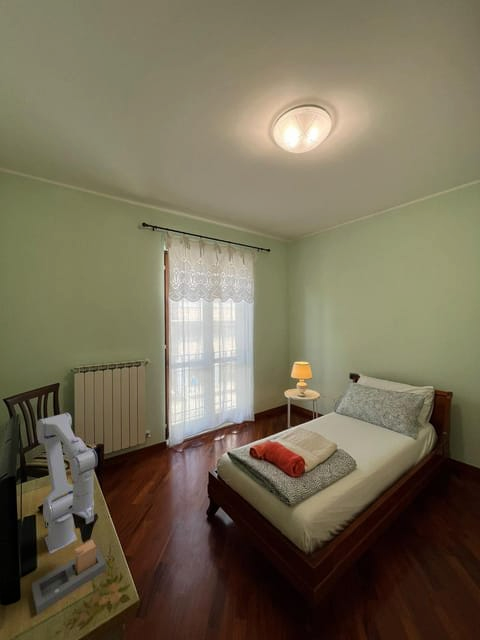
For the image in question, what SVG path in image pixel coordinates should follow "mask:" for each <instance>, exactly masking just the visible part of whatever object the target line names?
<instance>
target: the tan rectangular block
mask: <svg viewBox="0 0 480 640" xmlns="http://www.w3.org/2000/svg"><path fill="white" fill-rule="evenodd" d="M74 559H75V574H76V576H77V575H79V574H81V573H82V572H84V571H86V570H87V569H89V568H90V567H92V566H94V565H95V564H96V544H95V542H94V540H93V539H89V540H88V541H86V542H84V544H83V543H82V545H80V546H78V547H76V548H75V549H74Z"/></svg>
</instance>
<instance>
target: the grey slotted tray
mask: <svg viewBox="0 0 480 640" xmlns="http://www.w3.org/2000/svg"><path fill="white" fill-rule="evenodd" d="M95 546H96V545H95ZM106 570H107V563H106V561H105V559H104V557H103V556H102V554H101V552H100V550H99V548H98V546H96V564H95V565H94V566H92V567H90V568H89V569H87V570H86V571H84V572H82V573H81V574H79V575H77V576H76V574H75V558H73V559H72V560H70V561H68V562H66V563H65V564H62V565H61V566H59V567H57V568H56V569H54V570H52V571H50V572H49V573H47V574H45V575H44V576H42V577H40V578H38V579H37V580H34V581H33V582H31V592H32V598H33V602H34V607H35V611H36V616H38V615H39V614H41V613H42V612H44V611H46V610H47V609H48V608H50V607H52V606H53V605H55V604H56V603H57V602H59V601H60V600H63V599H64V598H65V597H67V596H69V594H72V593H73V592H74V591H76V590H77V589H79V588H80V587H82V586H84V585H85V584H86V583H88V582H90V581H91V580H93V579H94V578H96V577H98V576H99V575H100V574H102V573H104V572H105V571H106Z"/></svg>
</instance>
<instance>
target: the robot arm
mask: <svg viewBox="0 0 480 640" xmlns="http://www.w3.org/2000/svg"><path fill="white" fill-rule="evenodd" d="M72 419H73V418H72V416H71V414H70V413H68V412H64V413H60V414H58V415H54V416H53V415H52V416H49V417H45V418H40V419H38V421H37V423H36V429H35V430H36V437H37V441H38V443H39V444H42V445H44V449H45V453H46V461H47V468H48V469H47V470H48V475H49V481H50V482H49V484H50V487H51V490H50V492H49V493H48V494H47V495H46V496H45V498H44V499H43V501H42V504H43V508H42V514H43V519H44V522H45V523H46V522H47V523H49V527H48V528H47V529H48V535H47V536H45V537H44V541H45V544H46V546H47V549H48V552H49V553H48V554H50V555H51V554H53V553H55V552H57V551H59V550H60V549H63V548H65V547H66V546H68V545H70V544H72V543H73V542H76V541H77V540H78V538H77V535H76V533H75V530H74V527H75V529H76V530H77V529H79V531H80V538H81V539H80V540H81V542H82V544H83V543H84V544H85V543H87V542H89V541H90V540H91V538H92V534H93V530H94V527H95V524H96V522H97V521H98V519H99V515H98V513H95V514H94V507H95V500H94V485H95V484H94V482H95V481H94V478H95V476H94V475H95V474H94V472H95V468H96V467H97V466H98V463H99V462H98V454H97V452H96V451H95V449H93V448H90V447H87V445H86V444H85V443H84V441H83V439H82V438H81V437H80V436H79V437H78V436H75V434H74V432H73V430H72V424H73V423H72V421H73V420H72ZM62 444H63V447H62ZM63 452H64V454H63ZM64 455H65V456H66V458H67V459H68V461H69V470H70V476H71V477H70V478H71V480H72V484H70V483H68V479H67V478H68V477H67V473H66V465H65V460H64Z"/></svg>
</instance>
